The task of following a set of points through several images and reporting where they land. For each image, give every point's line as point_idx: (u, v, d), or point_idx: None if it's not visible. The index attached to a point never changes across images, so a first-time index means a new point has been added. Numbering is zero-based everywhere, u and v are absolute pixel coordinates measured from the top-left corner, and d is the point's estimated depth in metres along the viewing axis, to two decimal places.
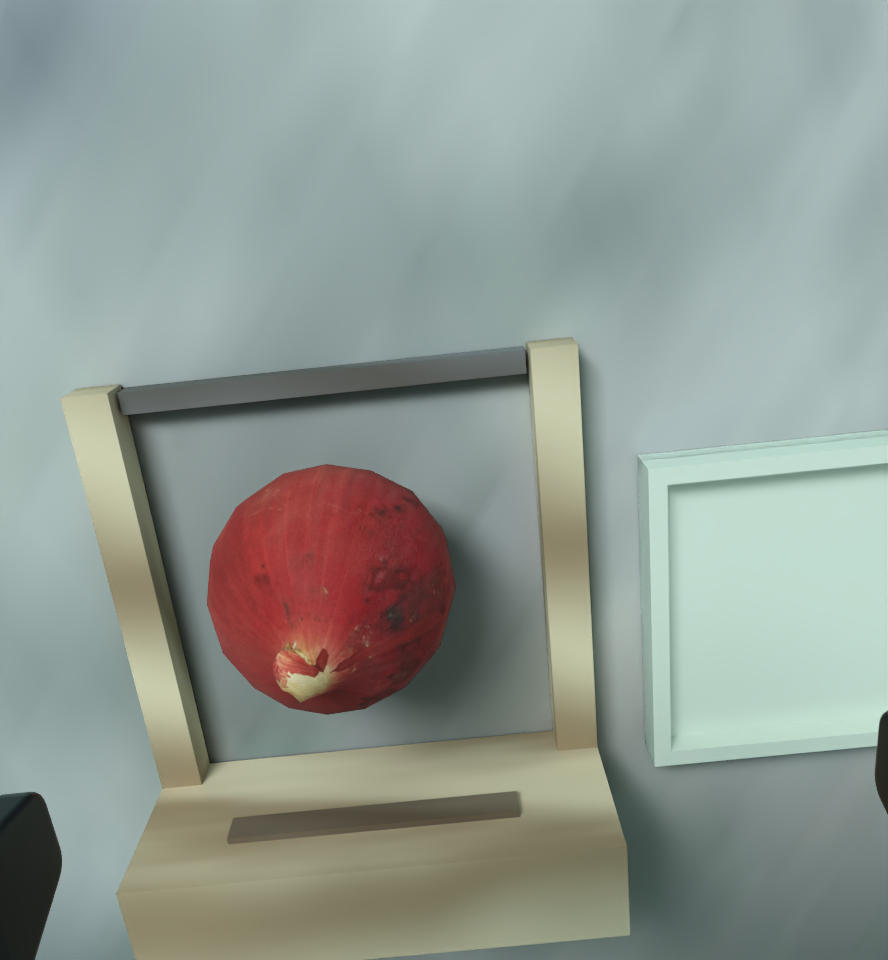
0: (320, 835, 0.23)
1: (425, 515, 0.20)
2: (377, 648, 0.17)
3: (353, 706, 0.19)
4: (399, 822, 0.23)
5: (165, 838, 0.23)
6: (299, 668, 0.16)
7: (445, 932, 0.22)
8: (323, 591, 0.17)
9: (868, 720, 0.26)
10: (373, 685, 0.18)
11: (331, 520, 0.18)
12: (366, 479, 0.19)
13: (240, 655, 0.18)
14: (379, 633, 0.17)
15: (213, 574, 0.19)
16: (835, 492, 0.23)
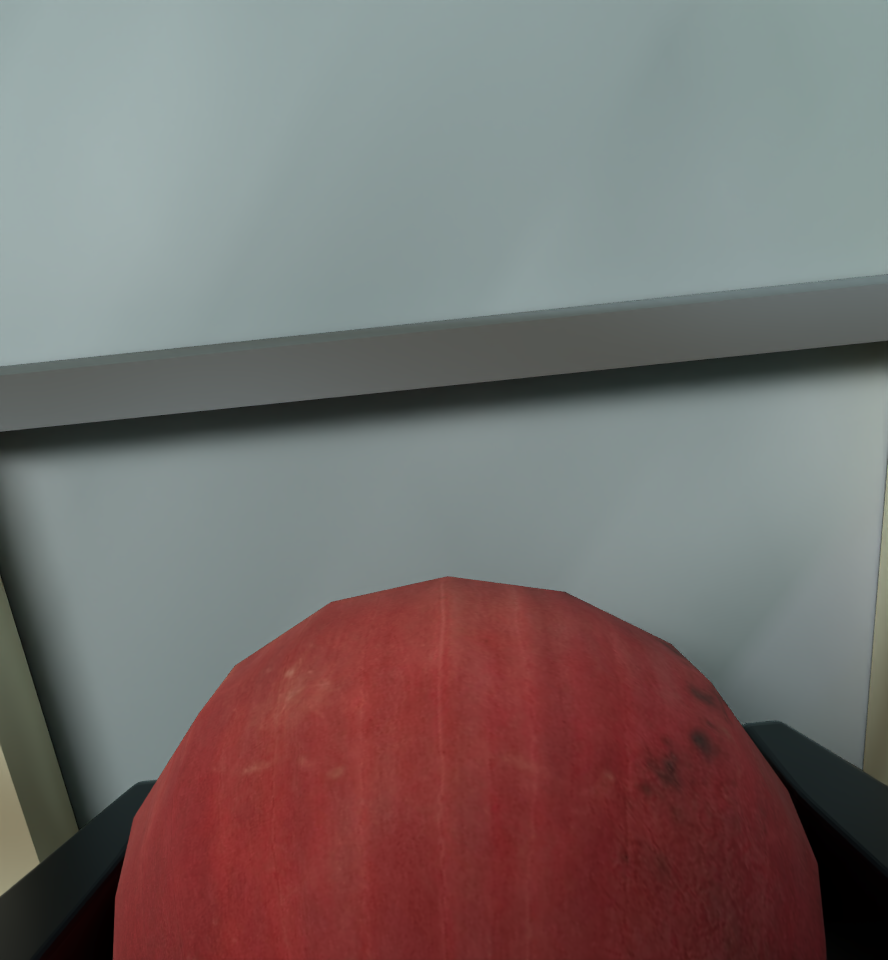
0: None
1: (744, 734, 0.07)
2: None
3: None
4: None
5: None
6: None
7: None
8: None
9: None
10: None
11: (527, 833, 0.05)
12: (587, 638, 0.06)
13: None
14: None
15: None
16: None
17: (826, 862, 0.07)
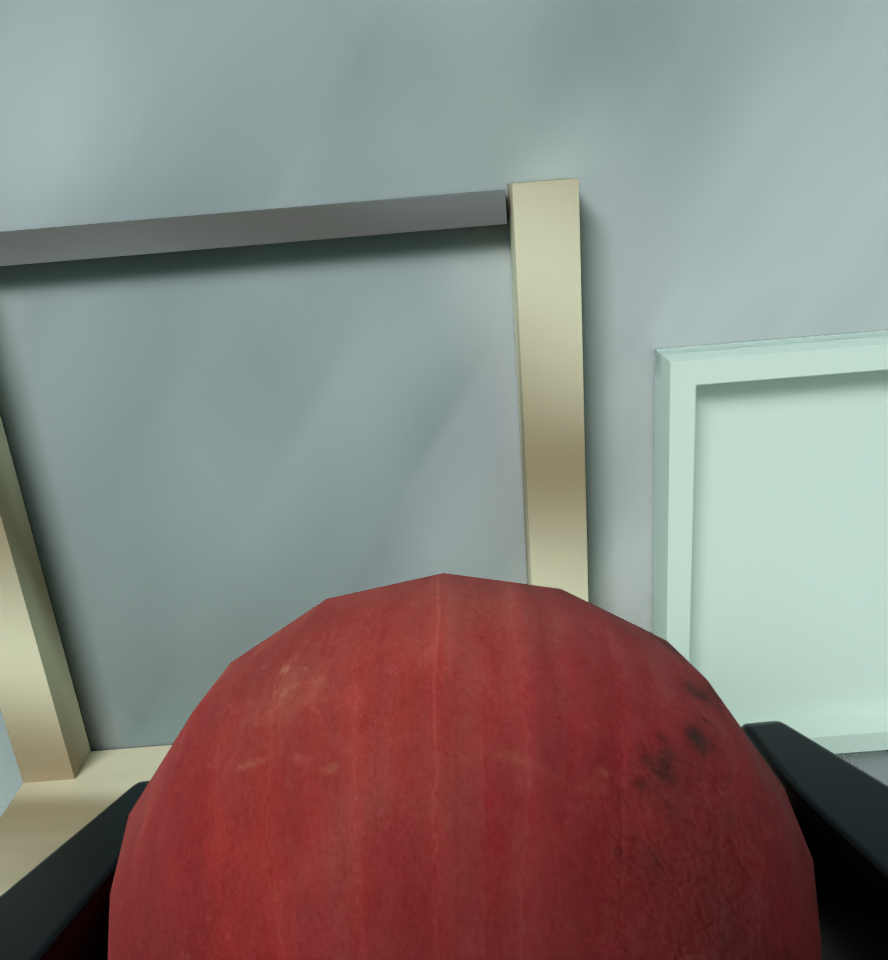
0: None
1: (739, 731, 0.07)
2: None
3: None
4: None
5: (11, 850, 0.18)
6: None
7: None
8: None
9: None
10: None
11: (520, 828, 0.05)
12: (583, 634, 0.06)
13: None
14: None
15: (113, 959, 0.06)
16: None
17: (826, 862, 0.07)
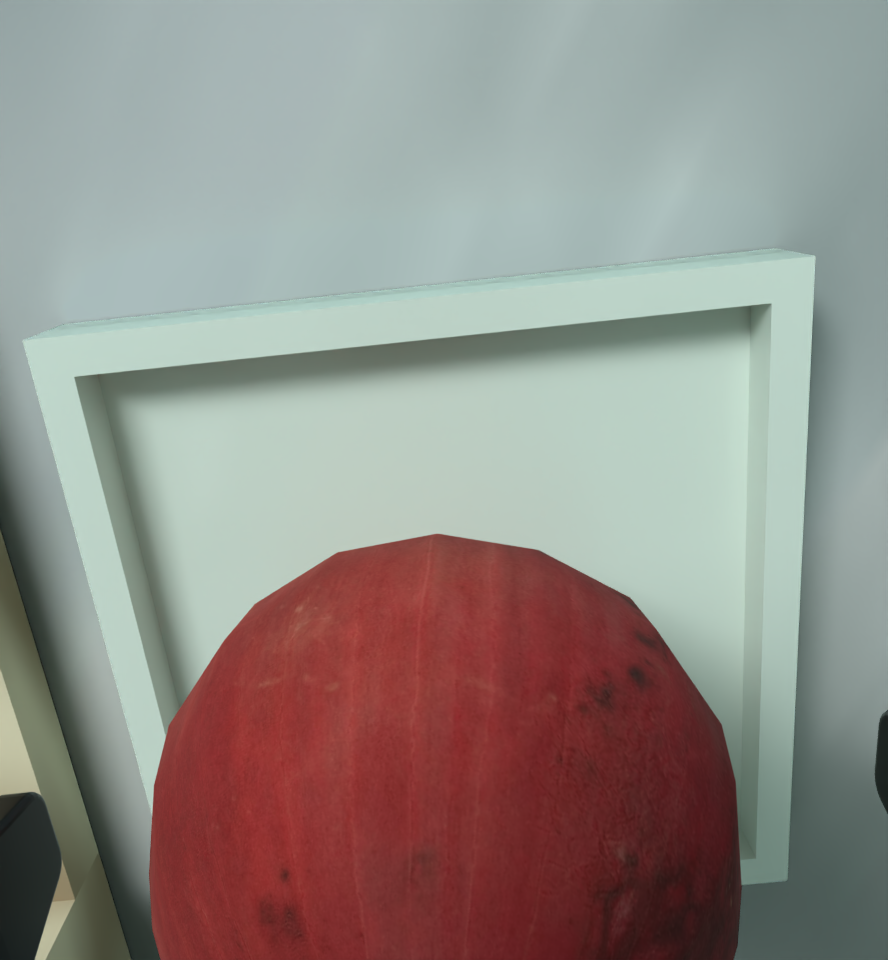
0: None
1: (682, 674, 0.08)
2: None
3: None
4: None
5: None
6: None
7: None
8: None
9: None
10: None
11: (481, 736, 0.06)
12: (548, 588, 0.08)
13: None
14: None
15: (157, 834, 0.07)
16: (470, 400, 0.11)
17: None
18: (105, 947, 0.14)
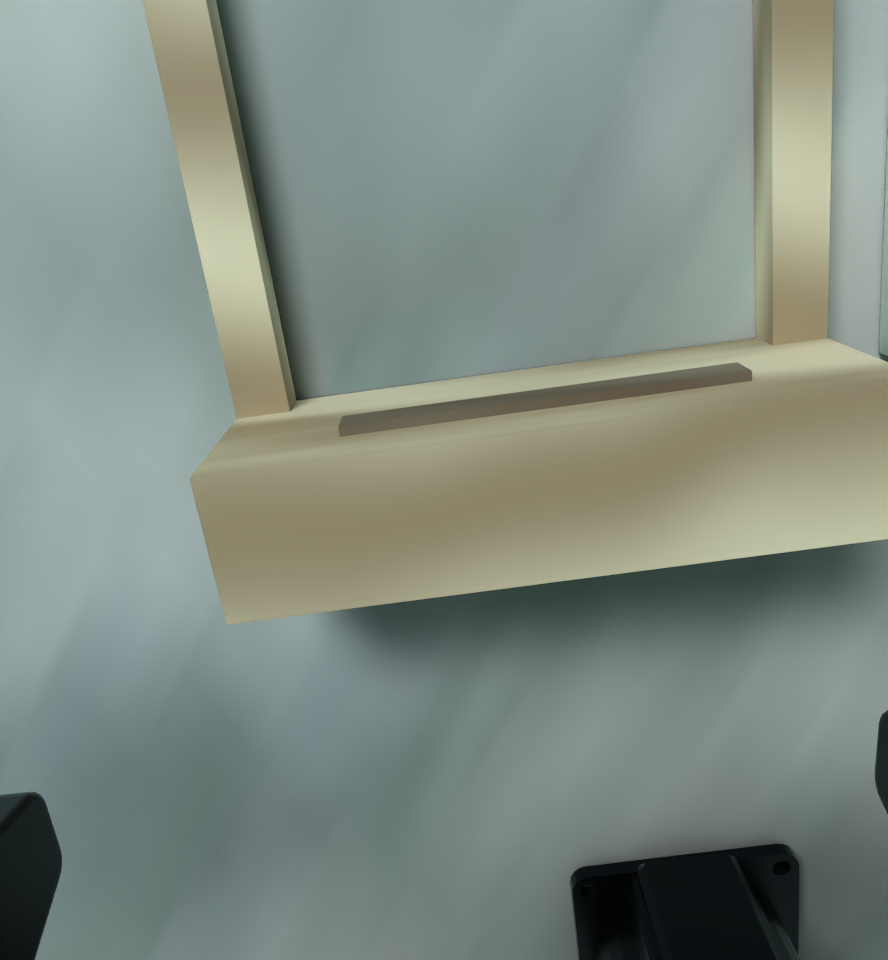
0: (469, 419, 0.16)
1: None
2: None
3: None
4: (581, 394, 0.16)
5: (250, 442, 0.17)
6: None
7: (656, 534, 0.16)
8: None
9: None
10: None
11: None
12: None
13: None
14: None
15: None
16: None
17: None
18: None
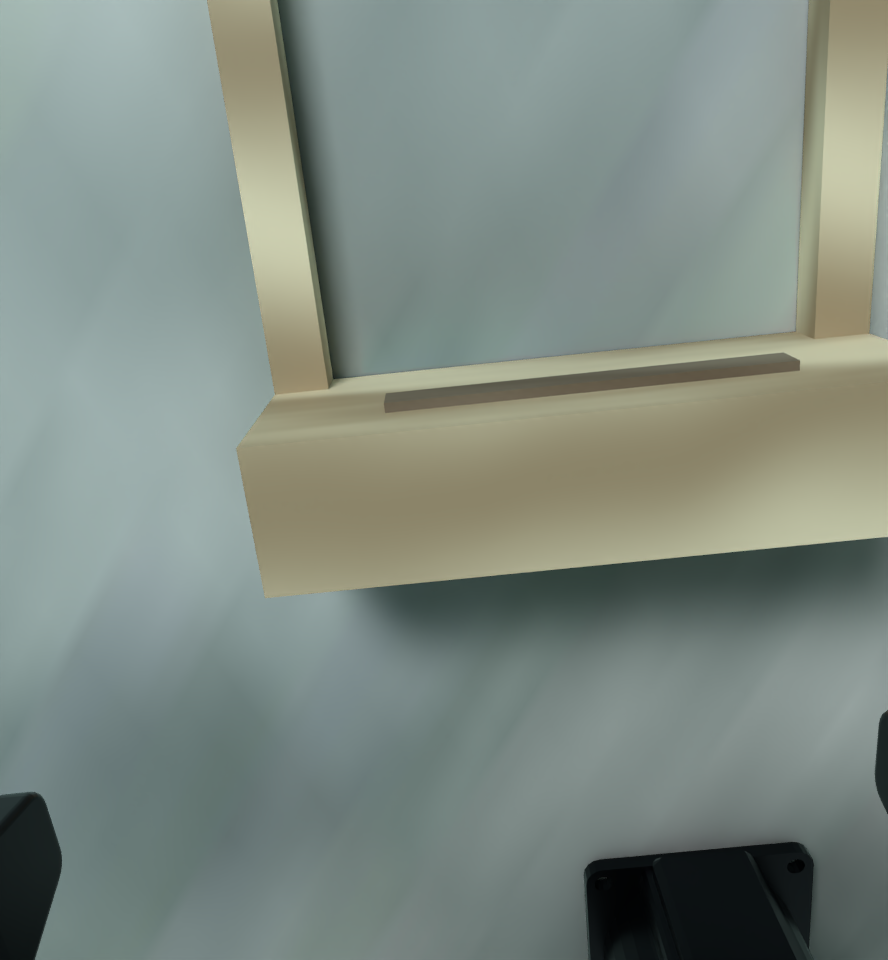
0: (516, 399, 0.16)
1: None
2: None
3: None
4: (628, 378, 0.16)
5: (292, 416, 0.17)
6: None
7: (701, 520, 0.16)
8: None
9: None
10: None
11: None
12: None
13: None
14: None
15: None
16: None
17: None
18: None
